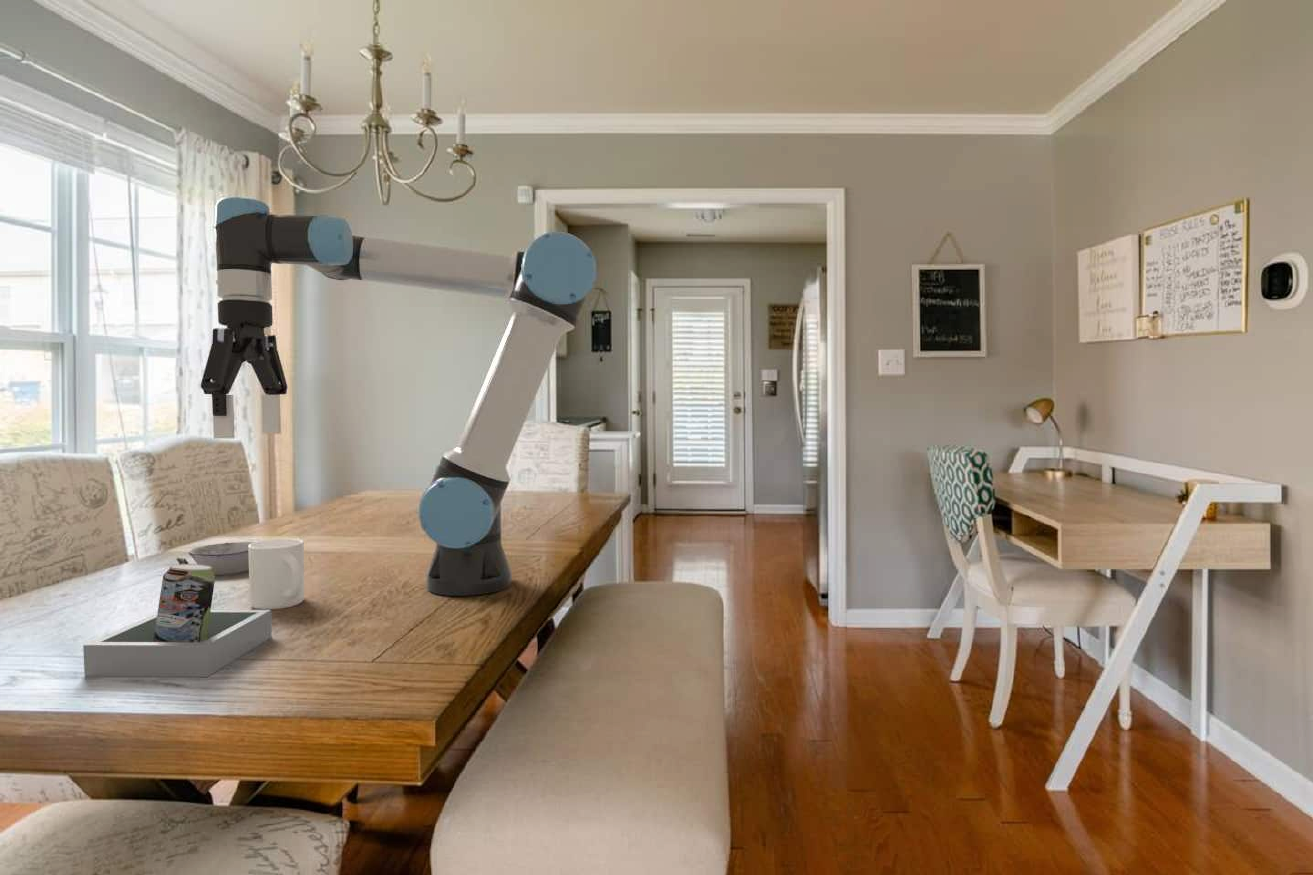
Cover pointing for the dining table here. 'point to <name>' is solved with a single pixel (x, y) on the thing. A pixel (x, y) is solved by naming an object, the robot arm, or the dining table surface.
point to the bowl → (223, 557)
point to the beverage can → (185, 604)
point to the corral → (176, 647)
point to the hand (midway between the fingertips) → (249, 436)
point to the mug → (276, 573)
